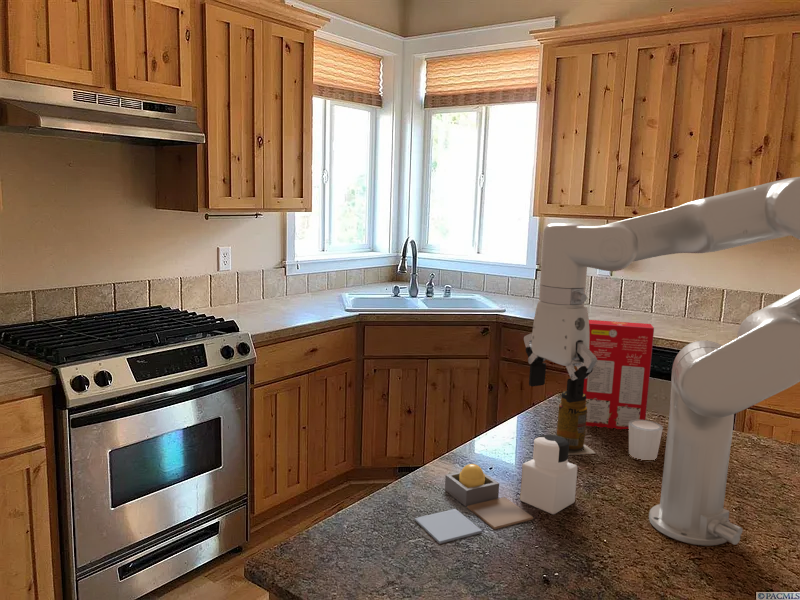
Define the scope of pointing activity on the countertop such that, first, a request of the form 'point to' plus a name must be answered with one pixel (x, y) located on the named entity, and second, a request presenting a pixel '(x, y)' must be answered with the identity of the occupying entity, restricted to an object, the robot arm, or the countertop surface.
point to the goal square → (447, 525)
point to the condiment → (573, 424)
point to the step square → (499, 512)
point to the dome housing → (471, 490)
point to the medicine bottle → (549, 475)
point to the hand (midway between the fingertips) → (554, 393)
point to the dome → (472, 476)
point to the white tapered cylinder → (644, 439)
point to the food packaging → (618, 373)
